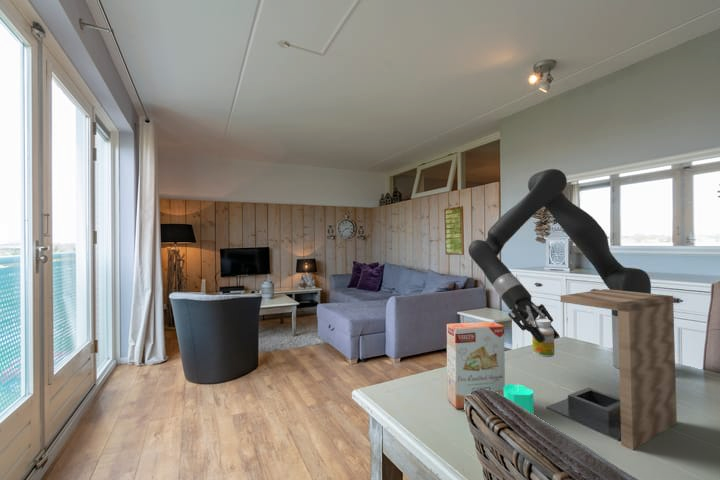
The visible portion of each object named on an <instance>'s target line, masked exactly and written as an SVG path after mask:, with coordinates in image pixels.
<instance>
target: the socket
mask: <svg viewBox="0 0 720 480" xmlns="http://www.w3.org/2000/svg"><path fill="white" fill-rule="evenodd" d="M545 408H546V409H547V410H549V411H552V412H554V413H556V414H558V415H560V416H562V417H565V418H567V419H569V420H571V421H574V422H576V423H578V424H581V425H583V426H584V427H588V428H590V429H591V430H593V431H595V432H598V433H600V434H602V435H604V436H607V437H609V438H611V439H613V440H615V441H618V442H620V441H621V412H620V397H616V396H614V395H611V394H608V393H605V392H603V391H600V390H597V389H594V388H591V387H585V388H583V389H581V390H578V391H575V392H573V393H569V394H568V395H567V398H565V399H563V400H560V401H558V402H555V403H552V404H550V405H547V406H546V407H545Z"/></svg>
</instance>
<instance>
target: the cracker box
mask: <svg viewBox="0 0 720 480" xmlns="http://www.w3.org/2000/svg"><path fill="white" fill-rule="evenodd" d="M505 361H506V360H505V326H504V325H502V324H500V323H498V322H494V321H476V322H457V323H447V324H446V375H447V376H446V378H447V379H446V381H447V385H446V386H447V387H446V388H447V393H446V394H447V395H446V396H447V397H446V398H447V400H448V401H449V402H450V403H451V405H452V406H453V407H454V408H455V409H457V410H458V409H459V410H460V409H465V408H464V397H465V396H466V395H468V394H470V393H471V392H472V391H473V390H475V389H479V388H484V389H489V390H493V391H495V392H498V393H499V394H501V395H503V396H504V386H505V385H506V379H505V378H506V375H505V373H506V372H505V370H506V369H505Z"/></svg>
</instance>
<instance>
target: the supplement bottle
mask: <svg viewBox="0 0 720 480" xmlns="http://www.w3.org/2000/svg"><path fill="white" fill-rule="evenodd" d="M538 318H539V317H538ZM538 318H536V319H535V322H534V324H535V327H537V328H538V329H539V331H540V332H541V333H542V334H543V336H544V337H545V340H544V341H543V342H541V343H539V342H538V341H537V340H536V339H535V338H534V337H533V335H532V334H531V335H532V353H533V355H535V356H537V357H541V358H542V357H543V358H553V357H554V356H555V339H554V330H553V329H552V328H550V326H551V325H552V322H551V321H550V320H548V318H547V319H541V318H539V319H538Z"/></svg>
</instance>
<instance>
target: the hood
mask: <svg viewBox="0 0 720 480" xmlns="http://www.w3.org/2000/svg"><path fill="white" fill-rule="evenodd" d="M559 297H560V302H561V303H564V304H565V303H566V304H573V305H578V306H586V307H592V308H599V309H606V310H611V311H612V310H618V339H619V368H618V369H619V370H618V371H619V373H618V375H619V398H620V412H621V440H620V441H621V442H620V443H621V444H620V445H621V446H623V447H626V448H628V449H630V450H631V451H634V450H635V449H637V448H638V447H641V445H644V444H645V443H647V442H649V441H650V440H652V439H654V438H655V437H657V436H659V435H660V434H662V433H664V432H666V431H667V430H668V429H670V428H672V427H673V426H676V425H677V423H678V419H677V418H678V417H677V414H678V413H677V385H676V383H677V380H676V354H675V353H676V350H675V348H676V347H675V344H676V343H675V319H674V317H675V315H674V311H675V310H674V295H667V294H666V295H665V294H659V293H658V294H657V293H651V294H649V293H639V292H629V291H620V290H610V289H609V288H608V289H607V288H604V289H598V290H591V291H584V292H577V293H570V294H564V295H560V296H559Z"/></svg>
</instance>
